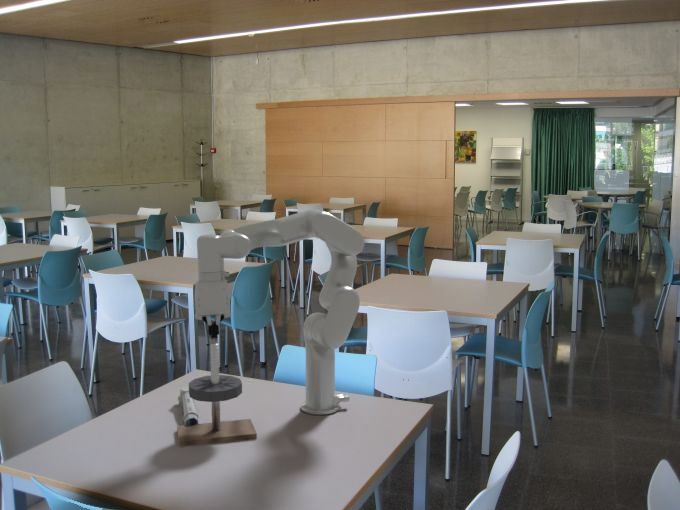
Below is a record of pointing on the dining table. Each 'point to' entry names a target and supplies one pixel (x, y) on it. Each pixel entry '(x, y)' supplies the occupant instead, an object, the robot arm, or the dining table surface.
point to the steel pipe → (215, 381)
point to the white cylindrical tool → (187, 406)
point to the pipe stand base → (215, 432)
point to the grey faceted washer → (215, 388)
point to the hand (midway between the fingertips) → (214, 337)
